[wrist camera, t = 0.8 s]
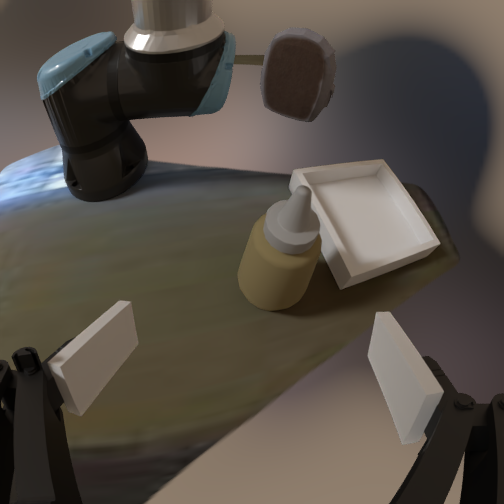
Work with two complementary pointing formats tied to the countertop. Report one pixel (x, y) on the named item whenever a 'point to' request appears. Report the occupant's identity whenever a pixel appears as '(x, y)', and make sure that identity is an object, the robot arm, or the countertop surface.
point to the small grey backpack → (298, 74)
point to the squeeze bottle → (281, 253)
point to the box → (364, 219)
